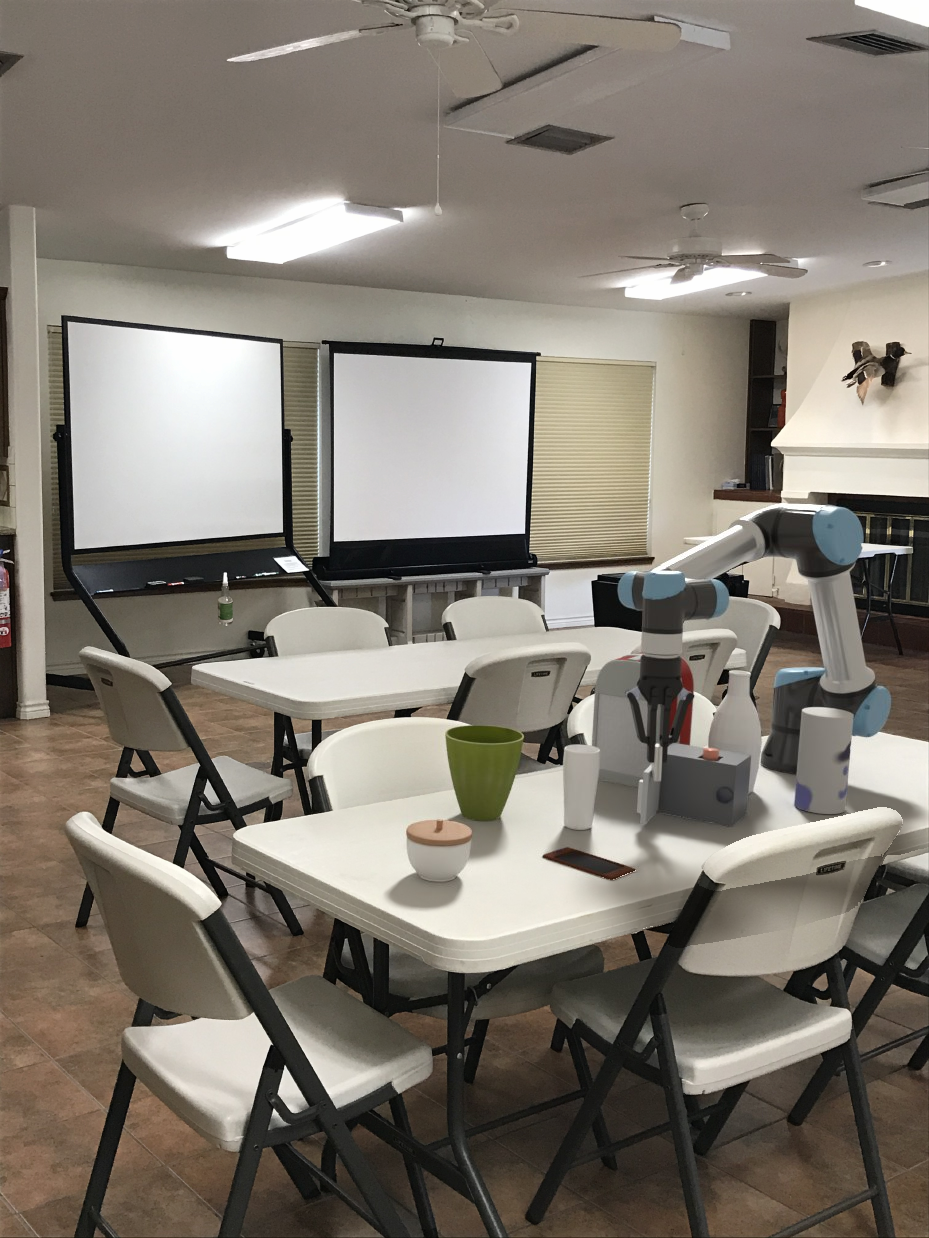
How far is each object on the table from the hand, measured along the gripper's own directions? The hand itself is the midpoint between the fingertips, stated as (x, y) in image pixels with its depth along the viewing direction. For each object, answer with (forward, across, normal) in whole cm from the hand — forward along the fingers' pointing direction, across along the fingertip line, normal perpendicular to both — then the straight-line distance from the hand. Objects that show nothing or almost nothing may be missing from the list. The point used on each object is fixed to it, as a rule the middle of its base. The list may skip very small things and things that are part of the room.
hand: (655, 779), depth 223 cm
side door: (+8, 0, -5) cm, 10 cm away
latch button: (-1, -12, -8) cm, 15 cm away
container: (+10, -38, -16) cm, 42 cm away
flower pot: (+9, +32, -6) cm, 34 cm away
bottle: (+10, -23, -28) cm, 38 cm away
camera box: (+10, -12, -11) cm, 18 cm away
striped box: (+9, -6, -37) cm, 39 cm away
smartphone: (+10, +16, +20) cm, 28 cm away
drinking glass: (+9, +14, 0) cm, 17 cm away
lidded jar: (+9, +42, +27) cm, 51 cm away
